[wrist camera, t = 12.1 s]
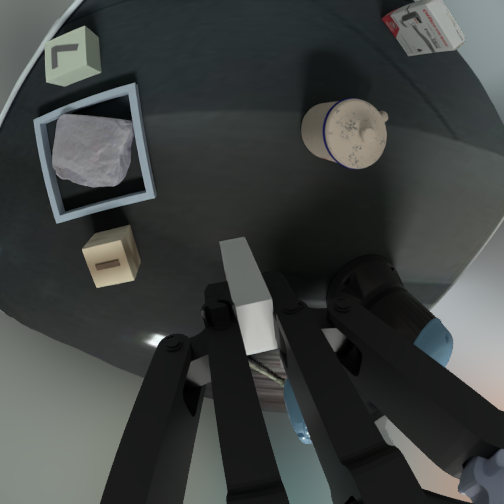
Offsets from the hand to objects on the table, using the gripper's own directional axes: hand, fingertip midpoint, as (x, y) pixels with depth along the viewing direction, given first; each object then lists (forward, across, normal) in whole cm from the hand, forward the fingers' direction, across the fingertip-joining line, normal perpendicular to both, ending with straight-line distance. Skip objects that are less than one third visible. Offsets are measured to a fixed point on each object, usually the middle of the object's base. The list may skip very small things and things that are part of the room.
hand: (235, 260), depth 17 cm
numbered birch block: (+25, +16, +6) cm, 30 cm away
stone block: (+25, +16, -8) cm, 31 cm away
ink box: (+25, -35, -24) cm, 49 cm away
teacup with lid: (+25, -19, -6) cm, 32 cm away
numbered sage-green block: (+25, +16, -22) cm, 37 cm away
